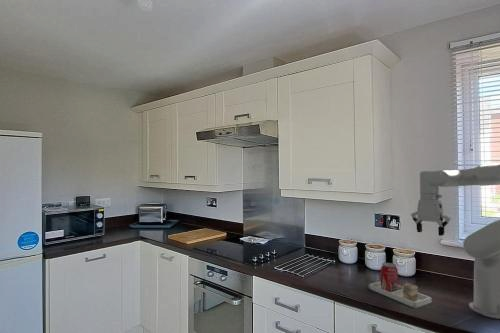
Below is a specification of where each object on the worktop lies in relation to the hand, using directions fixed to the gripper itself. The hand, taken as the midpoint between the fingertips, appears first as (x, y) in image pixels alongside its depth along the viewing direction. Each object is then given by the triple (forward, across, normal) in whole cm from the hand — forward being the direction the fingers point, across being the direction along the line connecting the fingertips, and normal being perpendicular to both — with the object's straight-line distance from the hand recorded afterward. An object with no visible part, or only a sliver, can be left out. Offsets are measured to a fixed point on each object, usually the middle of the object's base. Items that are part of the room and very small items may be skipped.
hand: (430, 233), depth 141 cm
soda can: (+26, +9, +18) cm, 33 cm away
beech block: (+26, -1, +19) cm, 32 cm away
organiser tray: (+26, +4, +19) cm, 33 cm away
